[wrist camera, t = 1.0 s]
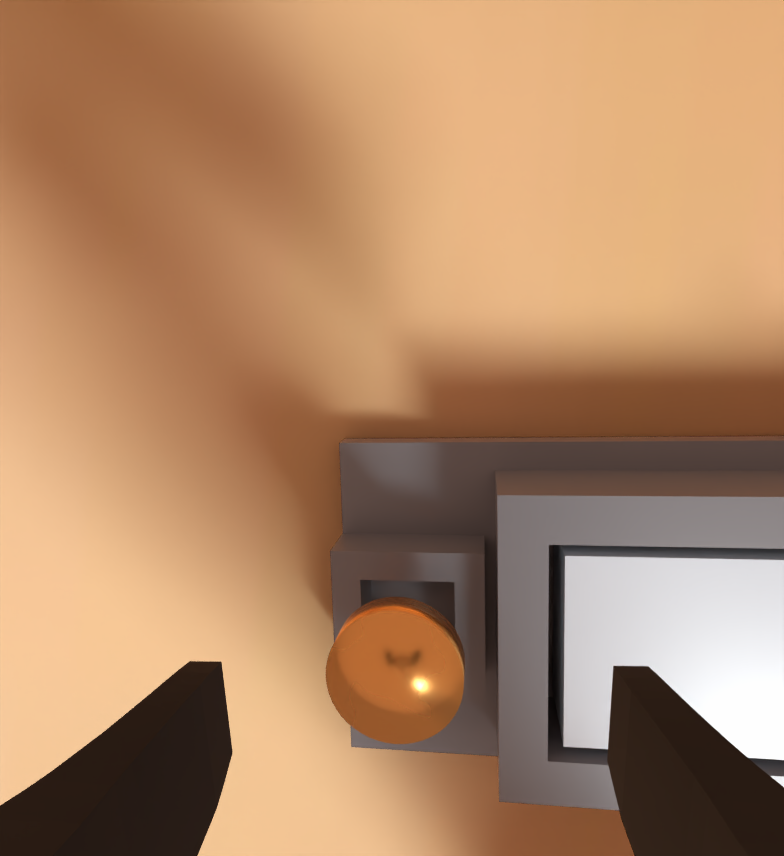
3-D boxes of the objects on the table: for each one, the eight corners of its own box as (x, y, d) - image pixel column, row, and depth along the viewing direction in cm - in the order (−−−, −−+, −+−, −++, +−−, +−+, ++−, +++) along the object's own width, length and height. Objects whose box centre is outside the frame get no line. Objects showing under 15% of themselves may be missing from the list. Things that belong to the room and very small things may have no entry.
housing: (1001, 769, 23) (1132, 880, 18) (356, 731, 26) (328, 816, 21) (1038, 434, 21) (1193, 461, 16) (345, 438, 24) (312, 462, 20)
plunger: (467, 688, 22) (464, 748, 18) (350, 682, 22) (328, 739, 19) (465, 574, 21) (463, 615, 18) (346, 571, 22) (323, 611, 18)
